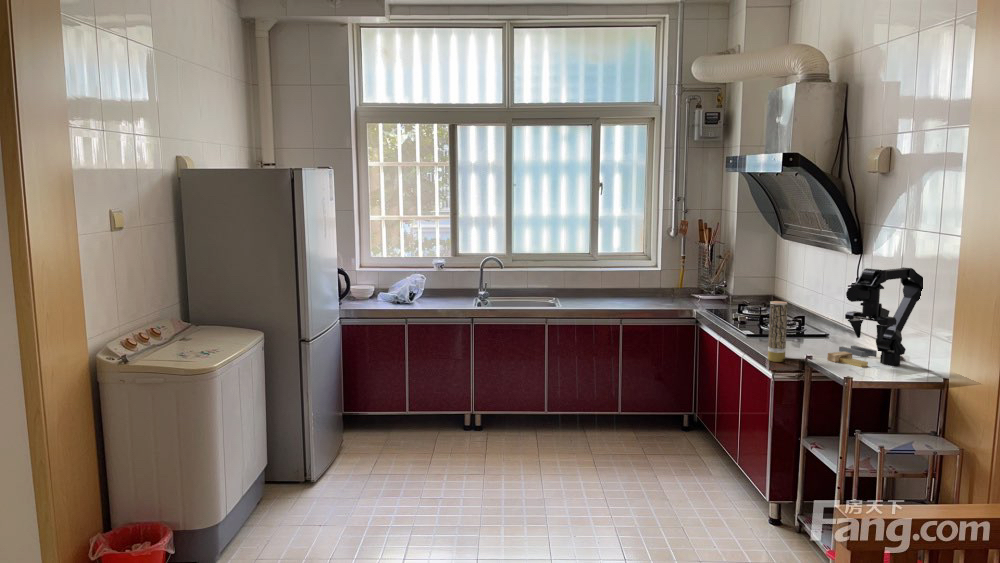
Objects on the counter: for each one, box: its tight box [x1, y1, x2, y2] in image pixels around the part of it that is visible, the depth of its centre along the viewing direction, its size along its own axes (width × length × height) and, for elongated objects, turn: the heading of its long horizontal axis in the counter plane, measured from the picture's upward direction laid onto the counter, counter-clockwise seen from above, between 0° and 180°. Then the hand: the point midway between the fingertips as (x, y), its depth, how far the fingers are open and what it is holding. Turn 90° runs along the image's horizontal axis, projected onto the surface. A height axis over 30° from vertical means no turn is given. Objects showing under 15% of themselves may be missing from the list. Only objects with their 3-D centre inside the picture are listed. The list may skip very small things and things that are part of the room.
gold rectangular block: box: [838, 356, 869, 368], centre depth 282 cm, size 12×4×4 cm, turn 24°
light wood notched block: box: [826, 351, 853, 364], centre depth 287 cm, size 4×9×5 cm, turn 109°
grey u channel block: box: [838, 345, 878, 358], centre depth 302 cm, size 12×8×4 cm
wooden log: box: [767, 300, 788, 363], centre depth 293 cm, size 7×7×25 cm
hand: (868, 339), depth 275 cm, fingers open, 9 cm apart
